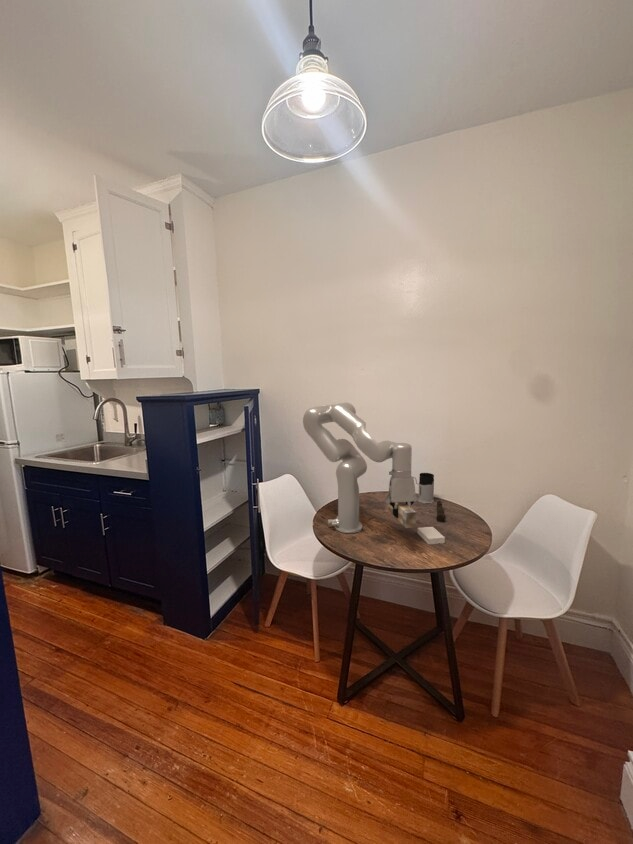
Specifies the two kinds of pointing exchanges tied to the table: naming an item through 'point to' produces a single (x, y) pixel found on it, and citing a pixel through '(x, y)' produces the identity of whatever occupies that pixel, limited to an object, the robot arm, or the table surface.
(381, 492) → the table surface
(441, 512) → the hand tool
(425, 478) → the glass holder
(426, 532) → the white and teal block
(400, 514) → the grey-capped beige stick
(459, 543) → the table surface
